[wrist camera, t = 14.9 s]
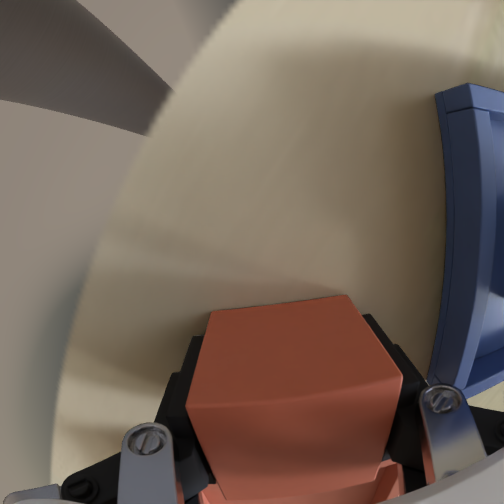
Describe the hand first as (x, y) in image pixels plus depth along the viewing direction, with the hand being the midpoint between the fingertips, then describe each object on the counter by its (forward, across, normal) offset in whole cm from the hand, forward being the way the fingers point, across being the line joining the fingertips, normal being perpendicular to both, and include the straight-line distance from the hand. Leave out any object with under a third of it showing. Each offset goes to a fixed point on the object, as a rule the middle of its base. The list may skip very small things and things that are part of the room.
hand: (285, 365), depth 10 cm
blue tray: (0, -12, -3) cm, 12 cm away
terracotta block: (0, 0, 0) cm, 0 cm away
